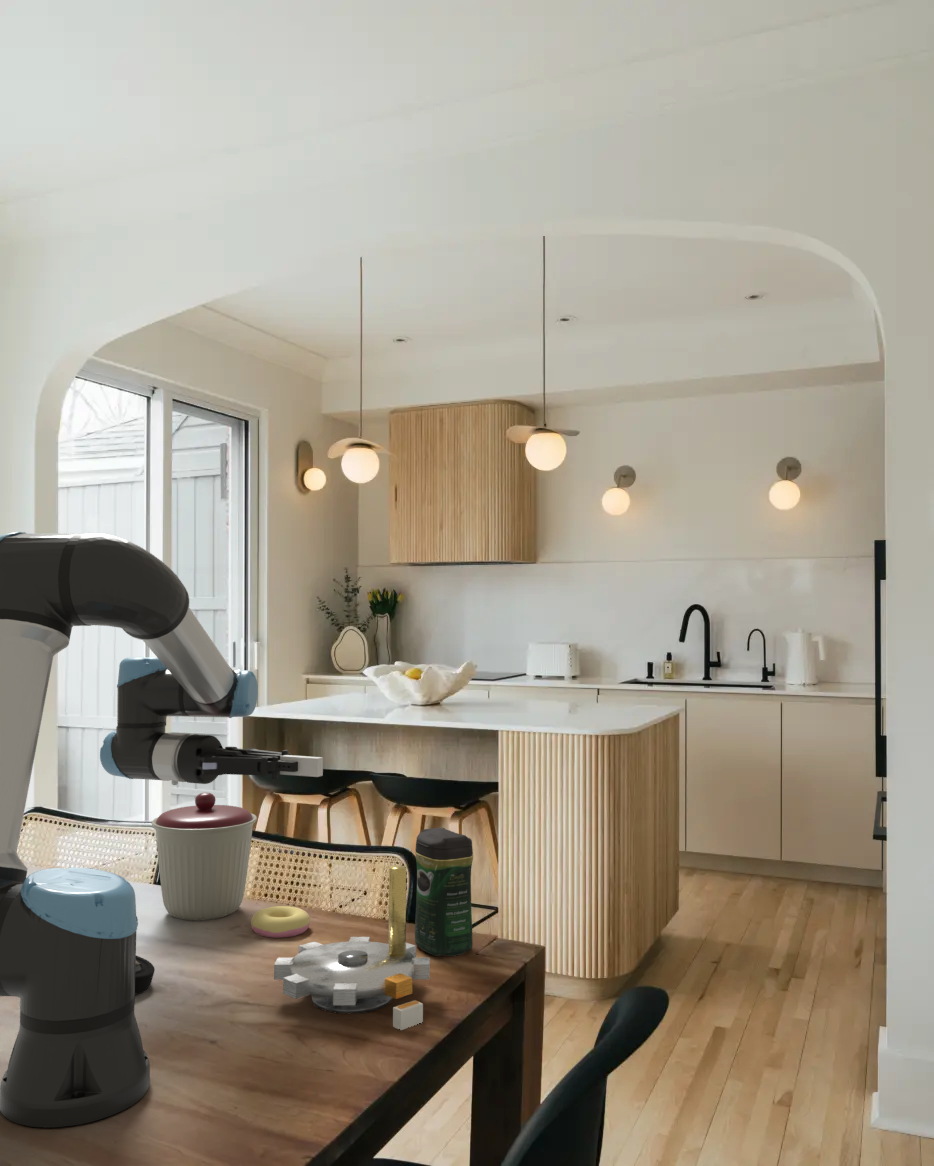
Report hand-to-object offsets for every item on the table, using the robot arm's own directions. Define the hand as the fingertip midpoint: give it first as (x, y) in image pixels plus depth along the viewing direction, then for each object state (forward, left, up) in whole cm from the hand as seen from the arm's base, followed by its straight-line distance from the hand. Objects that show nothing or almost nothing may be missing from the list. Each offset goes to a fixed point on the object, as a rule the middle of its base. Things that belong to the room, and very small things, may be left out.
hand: (320, 767), depth 146 cm
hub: (-7, -9, -30) cm, 32 cm away
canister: (+18, +35, -30) cm, 50 cm away
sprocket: (-7, -9, -27) cm, 29 cm away
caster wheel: (-16, +24, -30) cm, 42 cm away
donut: (+15, +16, -30) cm, 38 cm away
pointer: (-12, -20, -30) cm, 38 cm away
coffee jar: (+17, -12, -30) cm, 37 cm away
